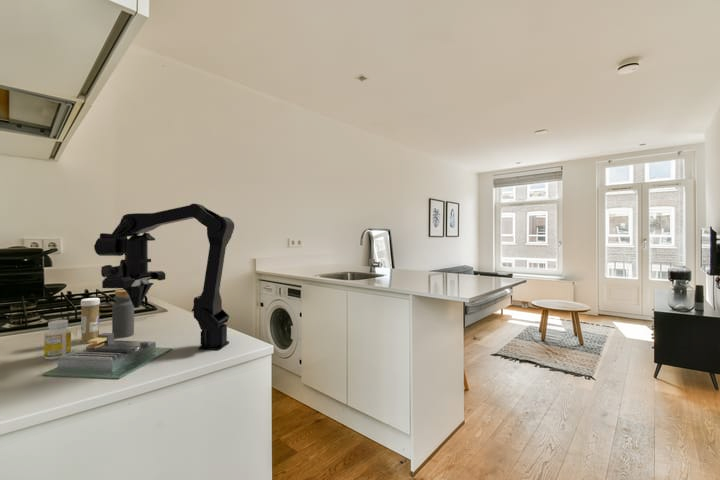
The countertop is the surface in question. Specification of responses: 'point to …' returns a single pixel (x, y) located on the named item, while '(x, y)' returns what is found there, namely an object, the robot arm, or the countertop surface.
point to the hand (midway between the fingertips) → (136, 307)
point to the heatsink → (107, 361)
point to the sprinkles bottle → (89, 319)
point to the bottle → (122, 315)
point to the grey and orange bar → (111, 347)
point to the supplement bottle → (57, 339)
